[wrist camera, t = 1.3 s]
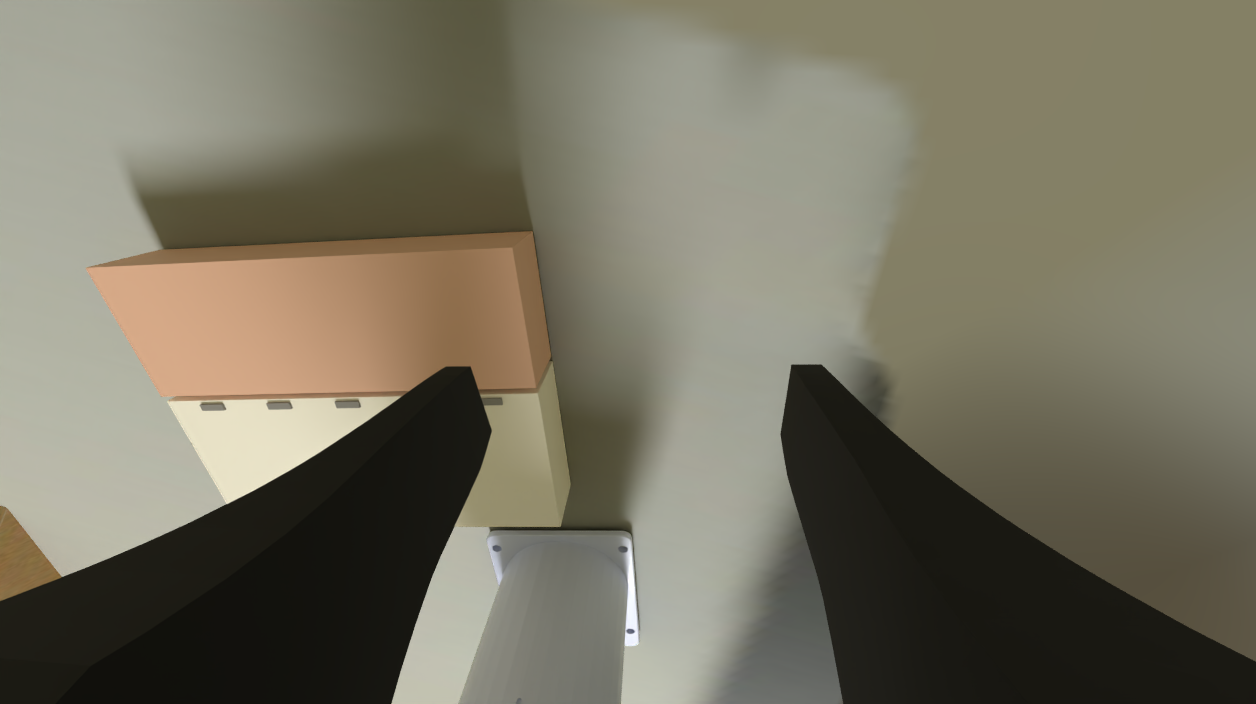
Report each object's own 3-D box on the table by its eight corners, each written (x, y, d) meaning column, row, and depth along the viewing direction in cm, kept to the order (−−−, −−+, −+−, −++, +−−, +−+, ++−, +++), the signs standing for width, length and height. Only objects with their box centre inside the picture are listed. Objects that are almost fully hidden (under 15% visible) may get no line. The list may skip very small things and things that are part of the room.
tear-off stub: (551, 356, 20) (536, 388, 18) (219, 365, 22) (161, 396, 19) (532, 230, 18) (512, 247, 15) (160, 249, 19) (85, 267, 17)
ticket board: (570, 484, 24) (560, 528, 21) (282, 486, 25) (238, 527, 22) (552, 361, 21) (537, 394, 18) (223, 370, 22) (164, 402, 19)
